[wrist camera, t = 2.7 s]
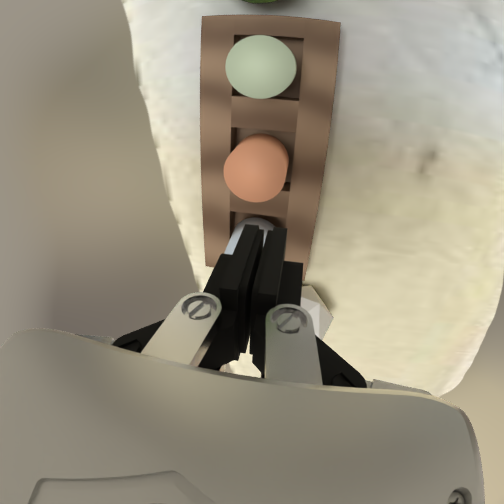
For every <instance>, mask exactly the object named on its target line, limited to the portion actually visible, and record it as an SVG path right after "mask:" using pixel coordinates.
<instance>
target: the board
mask: <svg viewBox="0 0 504 504" xmlns="http://www.w3.org/2000/svg"><path fill="white" fill-rule="evenodd" d="M340 24H341V23H339V22H333V21H327V20H319V19H311V18H302V17H291V16H275V15H216V16H202V27H201V62H200V143H201V182H202V208H203V229H204V247H205V263H206V266H209V267H215V265H216V263H217V261H218V259H219V256H220V255H221V254H222V253H223V254H224V253H225V250H226V247H227V245H228V243H229V240H230V238H231V236H232V233H233V231H234V229H235V227H236V225H237V224H238V223H239V222H241V221H242V220H244V219H247V218H254V217H255V218H262V219H265V220H267V221H269V222H270V223H272V224H273V225H274V226H275V227H279V228H288V229H287V240H286V250H285V260H284V261H291V262H300V263H303V277H302V280H303V281H304V280H305V275H306V270H307V265H308V260H309V255H310V249H311V244H312V239H313V233H314V228H315V222H316V217H317V211H318V205H319V199H320V193H321V187H322V181H323V174H324V168H325V161H326V154H327V147H328V140H329V133H330V125H331V117H332V109H333V100H334V92H335V82H336V72H337V62H338V51H339V38H340ZM254 35H266V36H271V37H273V38H276V39H278V40H279V41H281V42H282V43H284V44H285V45H286V46H287V47H288V48H289V49H290V50H291V51H292V53H293V54H294V56H295V59H296V63H297V72H296V76H295V78H294V80H293V81H292V83H291V84H290V85H289V86H288V87H287V88H286V89H285V90H284V91H283V92H281V93H280V94H278V95H276V96H273V97H270V98H265V99H256V98H251V97H248V96H245V95H243V94H241V93H240V92H238V91H237V90H236V89H235V88H234V87H233V86H232V85H231V83H230V82H229V80H228V78H227V75H226V69H225V65H226V59H227V56H228V53H229V52H230V50H231V49H232V47H233V46H234V45H235V44H236V43H238V42H239V41H240V40H242V39H244V38H247V37H250V36H254ZM259 133H260V134H268V135H271V136H273V137H275V138H277V139H278V140H279V141H280V142H281V143H282V144H283V145H284V146H285V148H286V150H287V153H288V157H289V164H288V169H287V174H286V178H285V183H284V186H283V188H282V189H281V191H280V192H279V193H278V194H277V195H276V196H275V197H273V198H272V199H270V200H268V201H264V202H249V201H245V200H243V199H241V198H239V197H237V196H236V195H235V194H234V193H233V192H232V191H231V190H230V189H229V188H228V186H227V184H226V182H225V179H224V165H225V162H226V160H227V158H228V156H229V155H230V154H231V153H232V151H233V150H234V149H235V148H236V147H237V145H238V144H239V143H240V142H241V141H242V140H243V139H244V138H246V137H248V136H250V135H253V134H259Z"/></svg>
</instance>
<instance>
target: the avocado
mask: <svg viewBox="0 0 504 504" xmlns="http://www.w3.org/2000/svg"><path fill="white" fill-rule="evenodd" d="M243 1H247V2H250V3H258V4H259V3H268V2H274V1H277V0H243Z"/></svg>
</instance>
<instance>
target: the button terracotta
mask: <svg viewBox="0 0 504 504" xmlns="http://www.w3.org/2000/svg"><path fill="white" fill-rule="evenodd" d="M288 164H289V157H288V153H287V150H286V148H285V146H284V145H283V144H282V143H281V142H280V141H279V140H278V139H277V138H275V137H273V136H271V135H268V134H260V133H259V134H253V135H250V136H248V137H246V138H244V139H243V140H242V141H241V142H240V143H239V144H238V145H237V147H236V148H235V149H234V150H233V151H232V153H231V154H230V155H229V156H228V158H227V160H226V162H225V165H224V179H225V182H226V184H227V186H228V188H229V189H230V190H231V191H232V192H233V193H234V194H235V195H236V196H237V197H239V198H241V199H243V200H245V201H249V202H264V201H268V200H270V199H272V198H273V197H275V196H276V195H277V194H278V193H279V192H280V191H281V189H282V188H283V186H284V183H285V178H286V174H287V169H288Z"/></svg>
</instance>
